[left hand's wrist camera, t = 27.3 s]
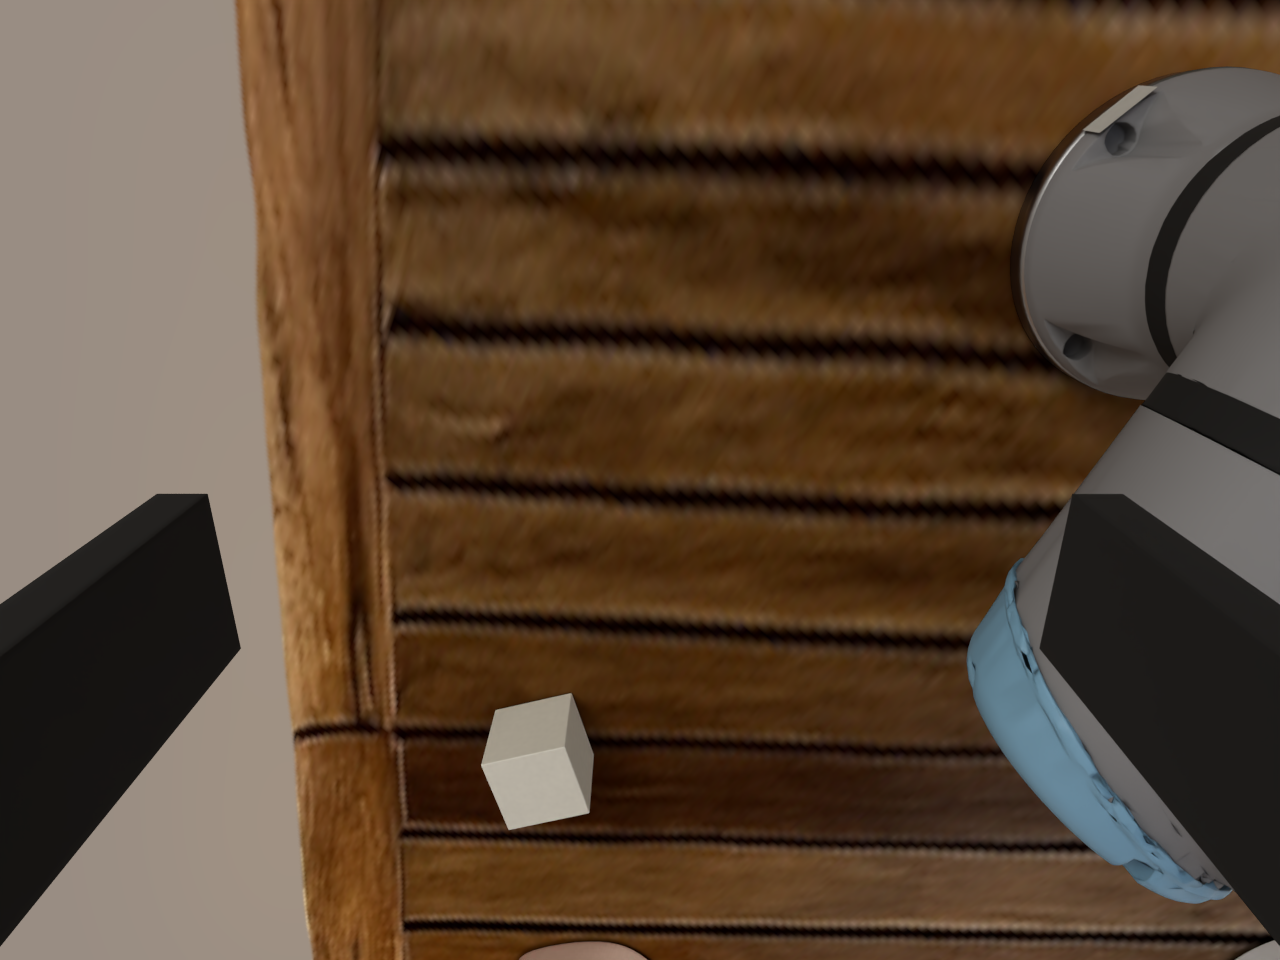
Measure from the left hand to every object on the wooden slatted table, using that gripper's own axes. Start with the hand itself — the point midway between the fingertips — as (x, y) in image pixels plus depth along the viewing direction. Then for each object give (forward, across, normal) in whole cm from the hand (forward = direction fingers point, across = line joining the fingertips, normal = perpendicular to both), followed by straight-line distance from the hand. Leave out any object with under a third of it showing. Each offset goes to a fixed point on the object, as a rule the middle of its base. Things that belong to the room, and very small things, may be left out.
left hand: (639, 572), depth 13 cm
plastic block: (+31, +6, +28) cm, 42 cm away
